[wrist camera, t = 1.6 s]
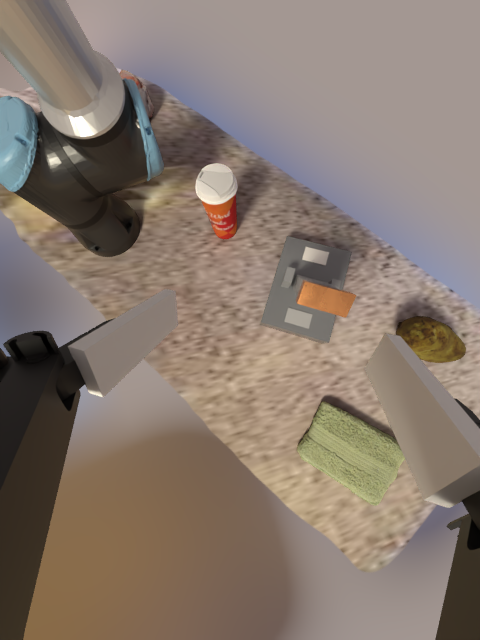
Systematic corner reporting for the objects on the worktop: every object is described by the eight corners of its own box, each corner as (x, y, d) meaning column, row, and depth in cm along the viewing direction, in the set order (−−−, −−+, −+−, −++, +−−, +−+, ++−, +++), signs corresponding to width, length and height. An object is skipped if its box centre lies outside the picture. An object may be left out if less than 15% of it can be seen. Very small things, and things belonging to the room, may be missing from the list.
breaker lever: (320, 294, 40) (345, 317, 24) (290, 286, 40) (296, 303, 25) (326, 280, 38) (356, 295, 23) (295, 272, 39) (305, 281, 24)
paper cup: (205, 236, 47) (185, 190, 34) (218, 210, 48) (205, 155, 34) (233, 248, 46) (225, 205, 33) (246, 221, 47) (244, 168, 33)
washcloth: (373, 504, 37) (385, 518, 34) (292, 450, 39) (295, 459, 36) (402, 442, 38) (415, 450, 35) (321, 394, 40) (327, 397, 37)
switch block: (321, 343, 42) (336, 341, 34) (260, 324, 43) (261, 319, 36) (342, 260, 44) (360, 242, 37) (284, 245, 46) (290, 225, 38)
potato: (428, 378, 39) (473, 386, 31) (375, 337, 41) (405, 334, 33) (452, 348, 40) (501, 347, 32) (398, 308, 42) (433, 299, 34)
